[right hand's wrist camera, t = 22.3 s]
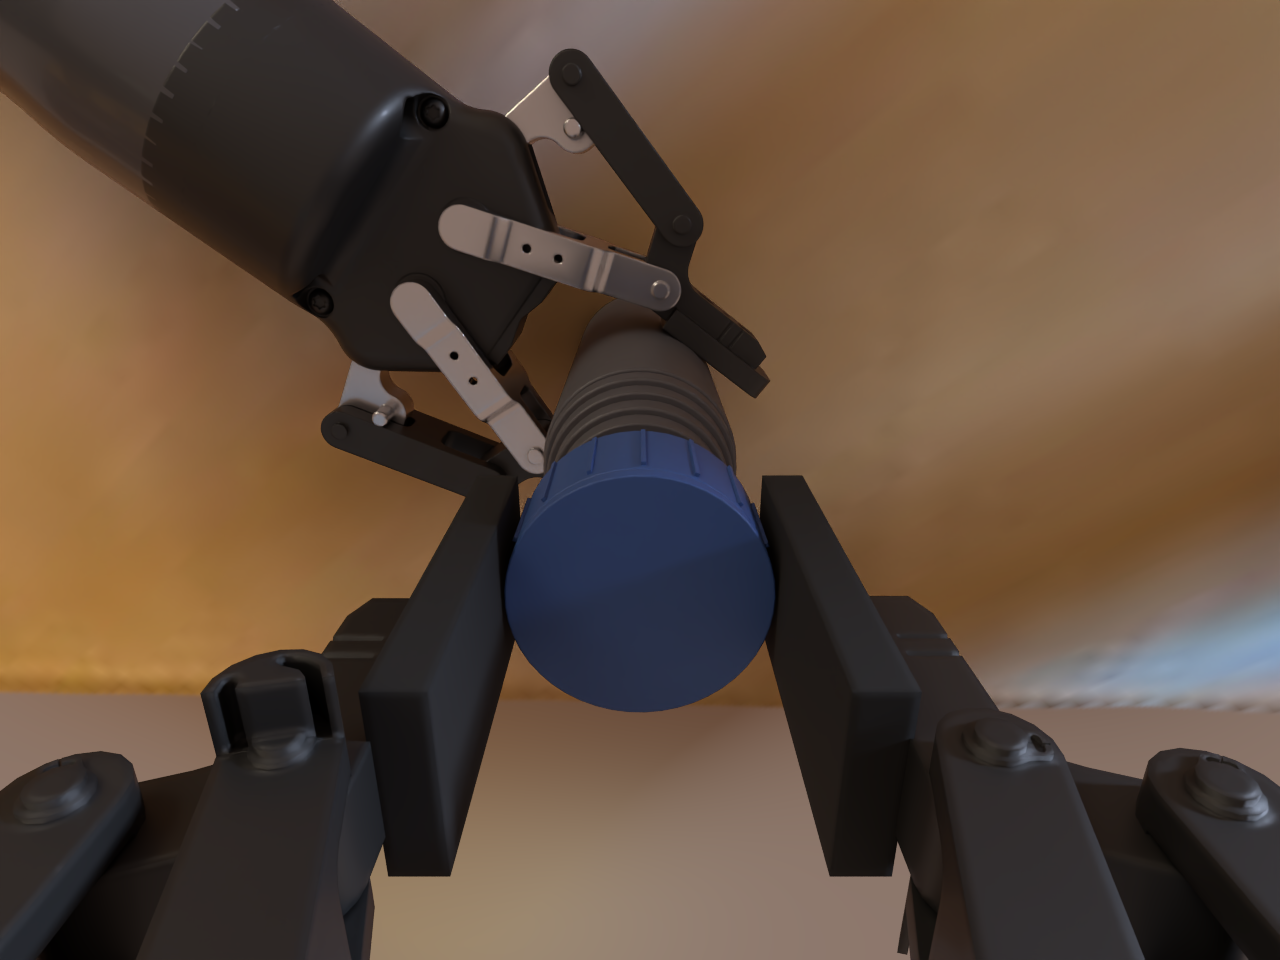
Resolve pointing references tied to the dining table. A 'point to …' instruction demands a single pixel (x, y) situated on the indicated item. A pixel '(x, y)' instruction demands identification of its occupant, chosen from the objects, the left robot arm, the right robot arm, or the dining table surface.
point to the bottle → (637, 387)
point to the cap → (639, 574)
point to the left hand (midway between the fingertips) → (704, 446)
